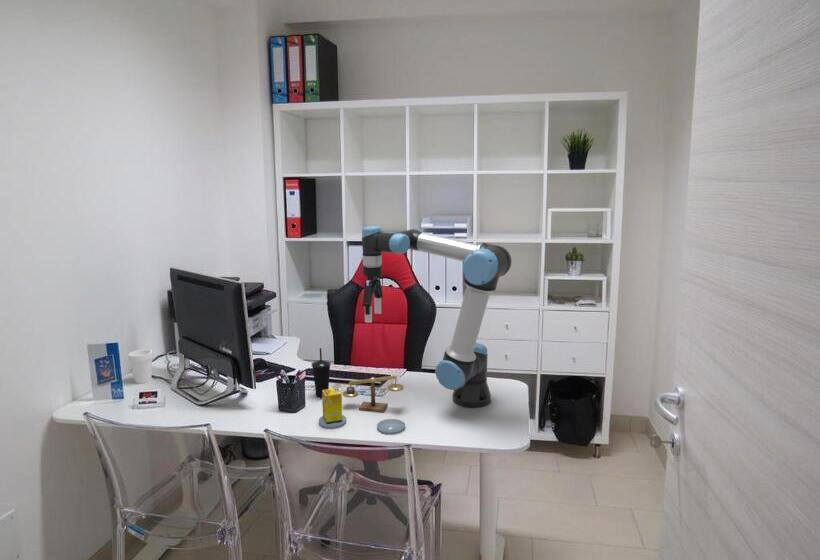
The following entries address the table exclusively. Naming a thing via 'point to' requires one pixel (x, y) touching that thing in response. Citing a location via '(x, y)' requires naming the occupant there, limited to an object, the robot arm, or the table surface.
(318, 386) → the drinking cup
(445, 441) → the table surface
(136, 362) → the foam cup
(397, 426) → the blue-grey plate
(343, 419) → the dish low side
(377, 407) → the balance stand
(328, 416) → the supplement box
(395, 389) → the balance beam
